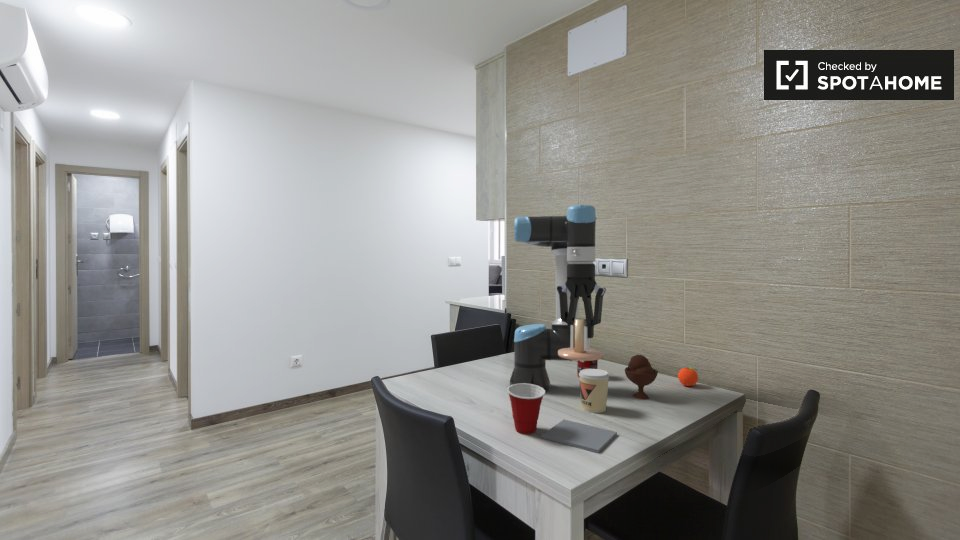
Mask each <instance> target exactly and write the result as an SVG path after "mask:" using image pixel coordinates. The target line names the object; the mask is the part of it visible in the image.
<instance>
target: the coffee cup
mask: <svg viewBox="0 0 960 540" xmlns="http://www.w3.org/2000/svg"><path fill="white" fill-rule="evenodd" d="M579 376H580V378H579V391H580V392H579V393H580V405H581V409H583V411H585V412H586V411H587V412H588V413H590V414H591V413H593V414H601V413H602V414H603V413H604V412H606V410H607V402H608V391H609V378H610V374H609V372H608V371H606V370H604V369H599V368H597V369H583V370H581V371H580V373H579Z"/></svg>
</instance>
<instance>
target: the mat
mask: <svg viewBox="0 0 960 540" xmlns="http://www.w3.org/2000/svg"><path fill="white" fill-rule="evenodd" d="M617 435H618V431H615V430H612V429H611V430H610V429H607V428H603V427H598V426H593V425H590V424H586V423H581V422H577V421H572V420H568V419H562V420H561V421H559V422H558V423H557V424H555V425H554V426H552V427H551V428H549V429H548V430H546V431H545V432H544V433H542V434H541V438H542V439H545V440H548V441H552V442H556V443H558V444H559V443H560V444H562V445H566V446H569V447H575V448H578V449H581V450H585V451H589V452H593V453H595V454H599V453H600V452H601V451H602V450H603V449H604V448H605V447H606V446H607V445H608V444H609V443H610V442H611V441H612V440H614V438H615V437H616V436H617Z"/></svg>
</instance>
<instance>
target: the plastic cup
mask: <svg viewBox="0 0 960 540" xmlns="http://www.w3.org/2000/svg"><path fill="white" fill-rule="evenodd" d="M506 391H507V393H508V396H509V400H510V407H511V411H512V412H511V413H512V418H513V422H514V429H515V432H517V433H519V434H522V435H530V434H531V435H532V434H534V433H535V432H536V431H537V427H538V420H539V416H540V412H541V411H540V410H541V404H542V402H543V398H544V396H545V395H546V392H545V390H544V389H543V388H542V387H540V386H537V385H533V384H526V383H520V384H513V385H511V386H510V385H509V386H507V389H506Z"/></svg>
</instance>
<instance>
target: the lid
mask: <svg viewBox="0 0 960 540" xmlns="http://www.w3.org/2000/svg"><path fill="white" fill-rule="evenodd" d="M586 325H587V323H586V318H582V317H581V318H580V317H579V318H576V319H575V322H574V349H570V348H563V349H560V350H558V356H559V357H561V358H565V359H569V360H577V361H593V360H602V359H603V358H604V352H603V351H602V350H598V349H595V348H590V350H587V351H584V326H586ZM577 361H576V362H577Z"/></svg>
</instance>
